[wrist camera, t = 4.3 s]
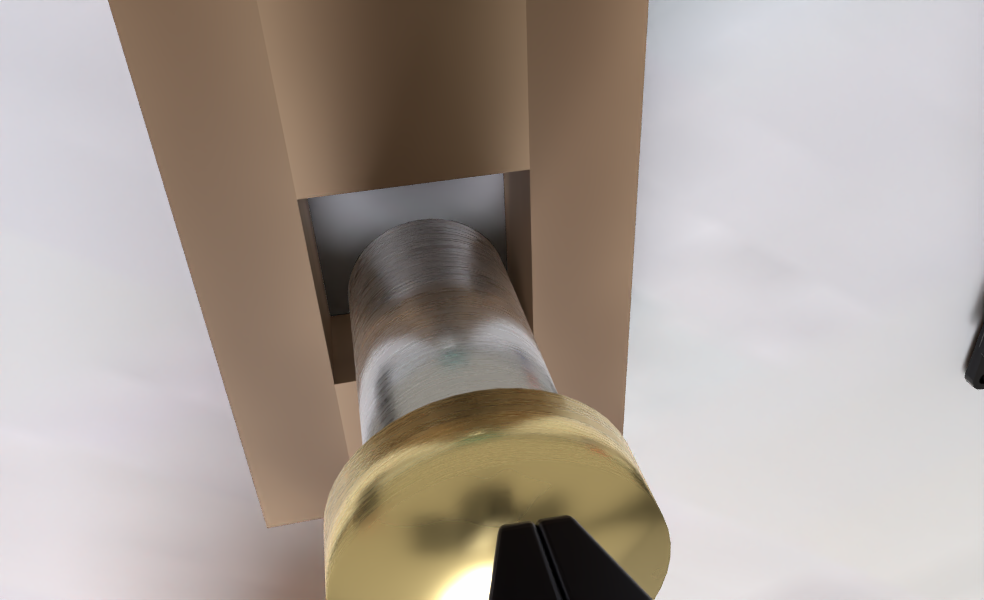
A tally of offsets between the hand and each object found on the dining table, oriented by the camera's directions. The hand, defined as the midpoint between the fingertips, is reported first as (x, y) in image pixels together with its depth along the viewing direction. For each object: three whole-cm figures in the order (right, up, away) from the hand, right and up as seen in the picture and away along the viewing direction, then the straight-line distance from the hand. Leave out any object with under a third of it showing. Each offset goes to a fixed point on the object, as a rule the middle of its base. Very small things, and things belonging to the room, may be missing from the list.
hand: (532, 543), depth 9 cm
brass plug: (-2, +3, +9) cm, 10 cm away
